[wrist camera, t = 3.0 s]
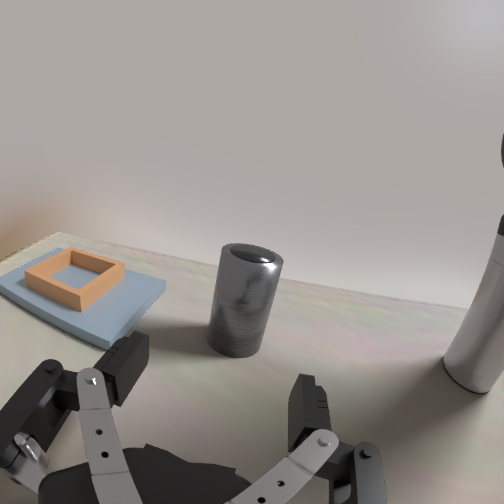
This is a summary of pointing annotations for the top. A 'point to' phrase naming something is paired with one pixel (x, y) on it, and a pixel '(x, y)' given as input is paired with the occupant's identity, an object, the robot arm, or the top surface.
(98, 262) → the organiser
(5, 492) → the top surface
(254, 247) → the grey capped cylinder
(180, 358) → the top surface
